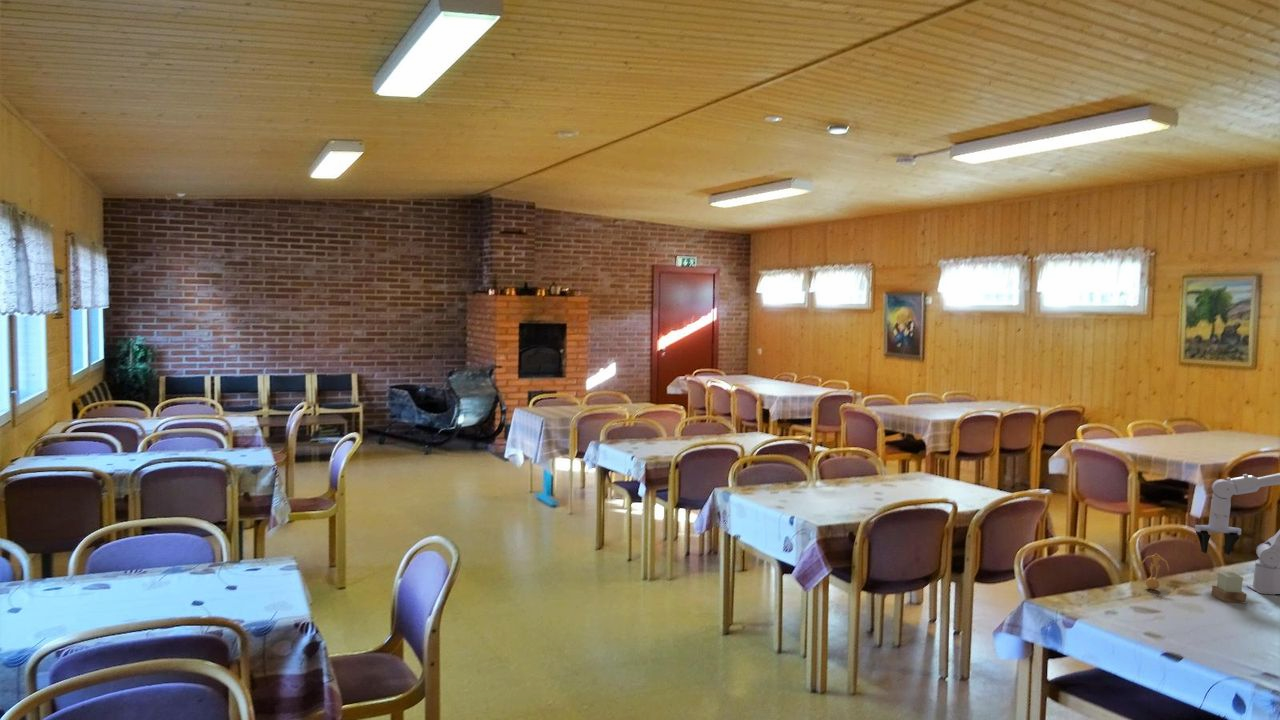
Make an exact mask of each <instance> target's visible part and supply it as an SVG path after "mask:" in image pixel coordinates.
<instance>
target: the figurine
mask: <svg viewBox="0 0 1280 720" xmlns="http://www.w3.org/2000/svg"><path fill="white" fill-rule="evenodd" d="M1151 558H1152V562H1153V563H1152V562H1151V563H1150V567H1149V569H1150V576H1149V577H1147V579H1146V580H1145V585H1146V587H1147V589H1149V590H1152V591H1153V590H1157V589H1159V587H1160V581H1159V580H1158V574H1159V570H1160V567H1161V564H1159V562H1160V561H1163V562H1165V564H1166V568H1167V571H1168V572H1169V571H1170V567H1169V564H1168V561H1167V560H1166V559H1165V558H1163V557H1162V556H1160V554H1159V553H1158V552H1156V553H1155V554H1153V555H1148V556H1145V558H1144V559H1143V560H1142V562H1141V563H1140V566H1143V564H1144V562H1145V561H1146V560H1147V559H1151ZM1154 568H1155V576H1153V574H1154V573H1153V570H1154Z"/></svg>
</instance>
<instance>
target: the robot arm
mask: <svg viewBox="0 0 1280 720" xmlns="http://www.w3.org/2000/svg"><path fill="white" fill-rule="evenodd" d="M1278 485H1280V472H1277V473H1274V474H1268V475H1265V476H1259V477H1256V476H1254V475H1251V474H1250V475H1248V474H1247V473H1244V474H1242V476H1238V477H1232V478H1231V477H1226V479H1223V478H1220V479H1219V478H1218V479H1216V480H1215V481H1214V482H1213V483H1212V484H1211V491H1212V495H1211V498H1212V499H1211V500H1210V501H1211V502H1210V509H1209V512H1210V513H1209V517H1208V519H1209V520H1208V524H1194V531H1195V533H1196V536H1197V539H1198V540H1199V544H1200V551H1201V552H1202V553H1203V554H1207V553H1208V548H1209V547H1208V546H1209V541H1210V539H1211V536H1212V535H1211V534H1209V533H1219V534H1220V533H1221V534H1223V535H1224V546H1223V553H1224V554H1225V555H1231V552H1232V549H1233V547H1234V545H1235V544H1236V543H1237V542H1238V540H1239V539H1240V535H1242V528H1240V527H1234V526H1229V524H1230V514H1231V505H1232V502H1231V499H1232V497H1233V495H1235V496H1238V495H1245V494H1249V493H1250V494H1251V493H1256V492H1258V491H1259V489H1260V488H1262V487H1270V486H1278ZM1255 553H1256V555H1257V558H1258V559H1256V561H1255V564H1254V573H1253V581H1252V584H1246V587H1248V588H1249V589H1251V590H1253V591H1255V592H1256V593H1259V594H1261V595H1262V594H1265V595H1275V594H1280V529H1279V530H1278V531H1277V532H1276V533H1275V534H1274V535H1273V536H1272V537H1269V538H1268V539H1267V540H1266V541H1265V542H1262V543H1260V544H1259V545H1258V546H1256V551H1255Z"/></svg>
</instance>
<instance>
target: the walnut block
mask: <svg viewBox="0 0 1280 720" xmlns="http://www.w3.org/2000/svg"><path fill="white" fill-rule="evenodd" d="M1211 586H1212V587H1211V595H1212V596H1213V597H1215V598H1216V599H1219V600H1220V601H1222V602H1223V601H1224V602H1227V603H1237V602H1246V603H1247V597H1248V596H1247V595H1248V593H1246V592H1244V591H1241V593H1239V592H1225V591H1224V590H1222V589H1220V588H1218V587H1217V585H1211ZM1224 602H1223V603H1224Z"/></svg>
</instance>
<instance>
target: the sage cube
mask: <svg viewBox="0 0 1280 720" xmlns="http://www.w3.org/2000/svg"><path fill="white" fill-rule="evenodd" d="M1243 580H1244V576H1240V575H1239V574H1237V573H1235V572H1230V571H1225V572H1224V571H1218V572H1217V581H1216V586H1217V587H1218V588H1220V589H1222V590H1224V591H1225V592H1239V593H1241V591H1242V590H1243V589H1242V588H1243V582H1244V581H1243ZM1242 592H1243V591H1242Z"/></svg>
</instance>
